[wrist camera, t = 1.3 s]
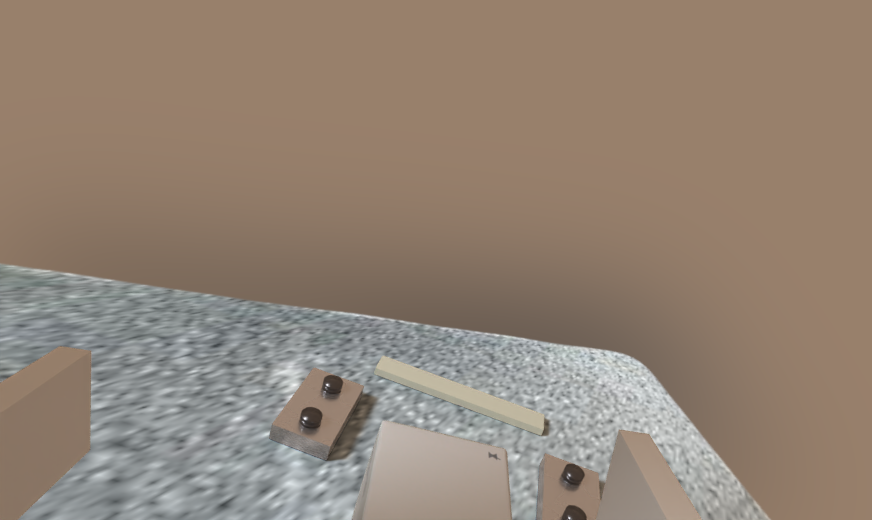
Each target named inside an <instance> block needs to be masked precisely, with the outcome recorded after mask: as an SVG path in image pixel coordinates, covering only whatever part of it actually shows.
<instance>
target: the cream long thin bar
mask: <svg viewBox="0 0 872 520" xmlns="http://www.w3.org/2000/svg"><path fill="white" fill-rule="evenodd" d="M374 374H375V375H378V376H381V377H383V378H386V379H389V380H391V381H394V382H397V383H399V384H402V385H405V386H408V387H410V388H413V389H416V390H418V391H421V392H424V393H427V394H429V395H432V396H435V397H437V398H440V399H443V400H445V401H448V402H451V403H454V404H456V405H459V406H462V407H464V408H467V409H470V410H473V411H475V412H478V413H481V414H483V415H486V416H489V417H491V418H494V419H497V420H500V421H502V422H505V423H508V424H510V425H513V426H516V427H519V428H521V429H524V430H527V431H529V432H532V433H535V434H537V435H540V436H541V435H542V432H543V430H544V414H541V413H538V412H535V411H533V410H530V409H527V408H524V407H522V406H519V405H516V404H514V403H511V402H508V401H505V400H503V399H500V398H497V397H494V396H492V395H489V394H486V393H484V392H481V391H478V390H475V389H473V388H470V387H467V386H464V385H462V384H459V383H456V382H454V381H451V380H448V379H445V378H443V377H440V376H437V375H434V374H432V373H429V372H426V371H424V370H421V369H418V368H415V367H413V366H410V365H407V364H404V363H402V362H399V361H396V360H394V359H391V358H388V357H385V356H382V358H381V360H380V361H379V363H378V365H377V367H376V369H375V372H374Z"/></svg>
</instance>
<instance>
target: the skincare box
mask: <svg viewBox="0 0 872 520" xmlns="http://www.w3.org/2000/svg"><path fill="white" fill-rule="evenodd" d="M352 520H512V514H511V501H510V487H509V474H508V460H507V452H506V450H505V449H504V448H500V447H495V446H491V445H487V444H483V443H479V442H475V441H471V440H467V439H462V438H458V437H454V436H450V435H446V434H442V433H437V432H433V431H429V430H425V429H421V428H417V427H413V426H409V425H404V424H399V423H395V422H390V421H382V424H381V426H380V429H379V432H378V435H377V438H376V441H375V444H374V447H373V450H372V453H371V456H370V459H369V462H368V465H367V469H366V472H365V475H364V478H363V481H362V485H361V488H360V492H359V495H358V499H357V502H356V506H355V509H354V513H353V516H352Z"/></svg>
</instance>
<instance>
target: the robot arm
mask: <svg viewBox="0 0 872 520" xmlns="http://www.w3.org/2000/svg"><path fill="white" fill-rule="evenodd" d="M90 414H91V351H88V350H82V349H75V348H68V347H62V346H59V347H58V348H56V349H55V350H53V351H51V352H50V353H48V354H46V355H45V356H43V357H42V358H40V359H38V360H37V361H35V362H33V363H32V364H30V365H29V366H27V367H25V368H24V369H22V370H20V371H19V372H17V373H16V374H14V375H12V376H11V377H9V378H7V379H6V380H4V381H3V382H1V383H0V520H18V519H19V518H20V517H21V516H22V515H23V514H24V513H25V512H26V511H27V510H28V509H29V508H30V507H31V506H32V505H33V504H34V503H35V502H36V501H37V500H38V499H39V498H41V497H42V496H43V495H44V494H45V493H46V492H47V491H48V490H49V489H50V488H51V487H52V486H53V485H54V484H55V483H56V482H57V481H58V480H59V479H60V478H61V477H62V476H63V475H65V474H66V473H67V472H68V471H69V470H70V469H71V468H72V467H73V466H74V465H75V464H76V463H77V462H78V461H79V460H80V459H81V458H82V457H83V456H84V455H85V454H86V453H87V452H89V451H90ZM596 520H702V519H701V517H700V516H699V514H698V512H697V511H696V509H695V508H694V506H693V504H692V503H691V501H690V500H689V498H688V496H687V495H686V493H685V491H684V490H683V488H682V487H681V485H680V483H679V482H678V480H677V478H676V477H675V475H674V474H673V472H672V470H671V469H670V467H669V465H668V464H667V462H666V461H665V459H664V457H663V456H662V454H661V453H660V451H659V449H658V448H657V446H656V444H655V443H654V441H653V440H652V438H651V436H650V435H649V434H645V433H638V432H631V431H625V430H619V431H618V435H617V439H616V443H615V447H614V451H613V455H612V459H611V463H610V467H609V470H608V474H607V478H606V482H605V486H604V490H603V494H602V498H601V502H600V505H599V509H598V513H597V517H596Z"/></svg>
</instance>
